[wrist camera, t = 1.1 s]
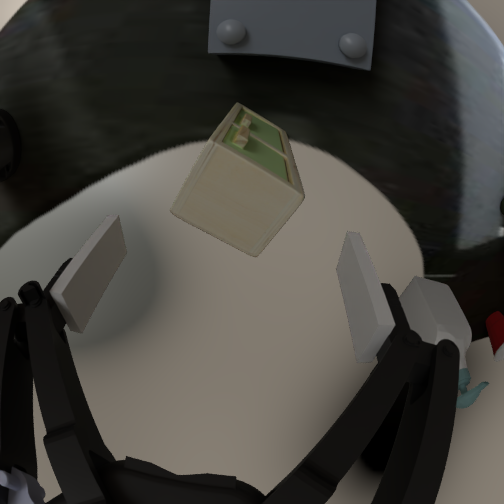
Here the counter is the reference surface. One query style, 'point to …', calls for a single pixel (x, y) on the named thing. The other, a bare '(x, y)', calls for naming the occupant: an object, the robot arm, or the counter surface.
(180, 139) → the counter surface
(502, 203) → the character mug
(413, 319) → the white spray bottle
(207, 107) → the counter surface
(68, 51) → the counter surface
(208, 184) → the toy refrigerator
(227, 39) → the base brick
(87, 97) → the counter surface
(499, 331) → the plastic cup
